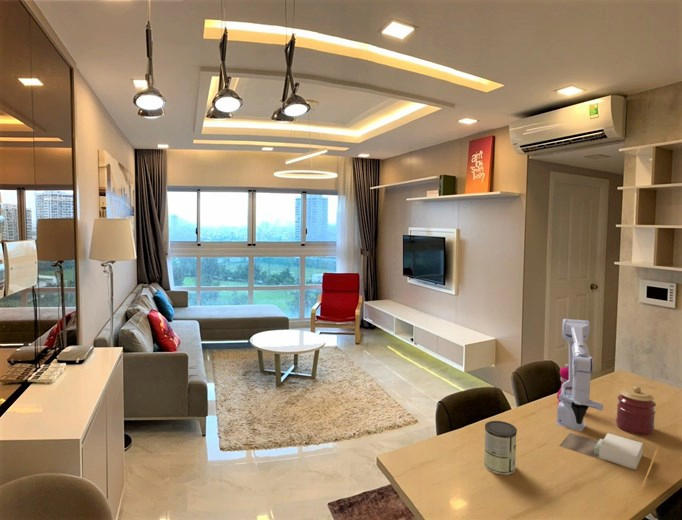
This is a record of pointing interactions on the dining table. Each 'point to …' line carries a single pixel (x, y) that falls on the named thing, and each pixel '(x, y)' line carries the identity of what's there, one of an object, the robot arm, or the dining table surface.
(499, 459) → the coffee can
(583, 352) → the robot arm
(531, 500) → the dining table surface
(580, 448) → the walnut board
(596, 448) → the sage tile
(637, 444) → the white rounded block
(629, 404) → the canister
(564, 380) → the pepper mill
